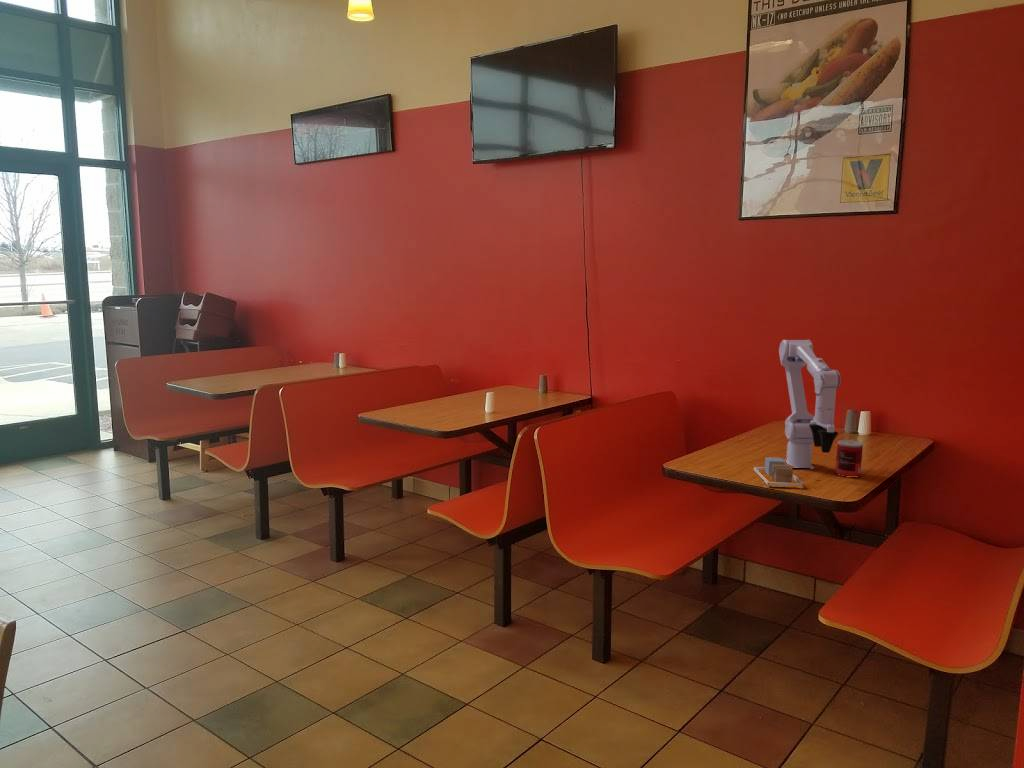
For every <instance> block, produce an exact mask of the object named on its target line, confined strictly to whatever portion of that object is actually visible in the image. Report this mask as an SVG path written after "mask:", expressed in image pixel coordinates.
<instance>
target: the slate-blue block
mask: <svg viewBox="0 0 1024 768" xmlns="http://www.w3.org/2000/svg"><path fill="white" fill-rule="evenodd" d="M784 460H785V459H783V458H782V457H770V456H769V457H768V456H767V457H766V456H765V459H764V467H765V472H766V473H767V474H768V475H772V465H786V463H785V461H784Z"/></svg>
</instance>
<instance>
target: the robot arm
mask: <svg viewBox="0 0 1024 768" xmlns="http://www.w3.org/2000/svg"><path fill="white" fill-rule="evenodd" d="M778 354H779V355H778V356H779V360H780V365H781V366H782V367H784V369H785V377H786V382H787V387H788V388H787V389H788V395H789V401H790V407H791V408H790V409H791V414H790V415H789V416H788V417H786V419H785V421H784V425H785V426H784V434H785V437H786V438H787V440H789V441H788V442H787V445H786V459H783V460H784V461H786V463H787V464H789V465H791V466H794V468H810V469H809V470H815V469H814V468H815V467H814V466H813V465H812V453H813V445H814V447H819V448H821V452H822V453H824V454H825V453H826V454H827V453H828V454H829V453H830V452H831V449H832V446H833V443H834V441H835V440H836V438H837V436H838V435H839V432H838V431H835V427H836V426H835V422H834V421H835V409H836V408H835V407H836V398H837V397H836V395H837V389H838V388H839V387H840V386H841V382H842V381H841V380H842V379H841V378H842V377H841V374H840V372H839V370H838V369H831V368H830V366H828V364H827V363H826V362H825V361H824V360H823V358H822V357H817V356H816V354H815V352H814V345H813V343H812V341H811V340H810V339H790V340H789V339H782V341H781V342H780V343H779V348H778ZM805 366H806V369H807V372H808V373H809V374H810V375H811V377H812V378H813V384H814V393H815V406H814V407H815V409H814V415H813V414H812V413H810V412H809V411H808V406H807V399H806V395H805V394H806V393H805V388H804V381H803V376H802V371H801V370H802V368H803V367H805ZM786 463H785V464H786ZM787 464H786V465H787Z"/></svg>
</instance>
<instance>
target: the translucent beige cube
mask: <svg viewBox="0 0 1024 768" xmlns="http://www.w3.org/2000/svg"><path fill="white" fill-rule="evenodd" d="M793 470H794V469H792V468H791V467H790V466H789V465H787V464H785V465H772V475H771V479H772V480H773V481H774V482H784V483H792V473H793Z"/></svg>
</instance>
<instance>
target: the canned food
mask: <svg viewBox="0 0 1024 768" xmlns="http://www.w3.org/2000/svg"><path fill="white" fill-rule="evenodd" d="M863 446H864V443H863V442H861V441H857V440H852V439H841V440H838V441H837V445H836V456H835V457H836V459H835V474H836V473H837V474H840V475H844V476H859V475H860V476H861V473H862V472H861V471H862V462H863V460H862V459H863V450H864V448H863ZM837 474H836V475H837ZM860 476H859V477H860Z"/></svg>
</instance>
